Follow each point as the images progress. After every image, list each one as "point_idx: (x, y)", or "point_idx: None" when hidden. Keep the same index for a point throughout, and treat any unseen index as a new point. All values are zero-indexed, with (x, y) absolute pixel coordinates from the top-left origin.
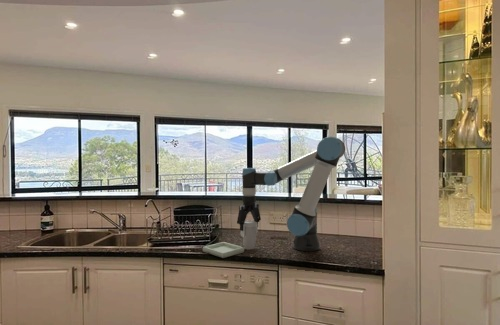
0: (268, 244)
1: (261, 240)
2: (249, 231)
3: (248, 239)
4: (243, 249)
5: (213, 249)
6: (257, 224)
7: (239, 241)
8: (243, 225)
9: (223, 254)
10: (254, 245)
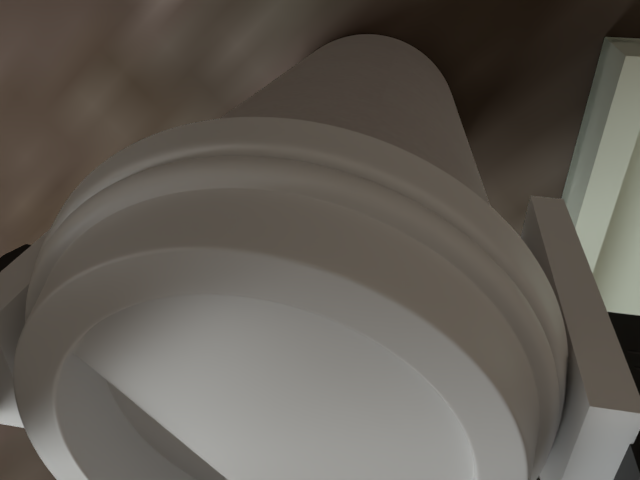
0: (27, 27)
1: (4, 223)
2: (460, 173)
3: (458, 123)
4: (634, 47)
5: None
6: (3, 269)
7: None
8: (629, 414)
9: None
10: (338, 43)
